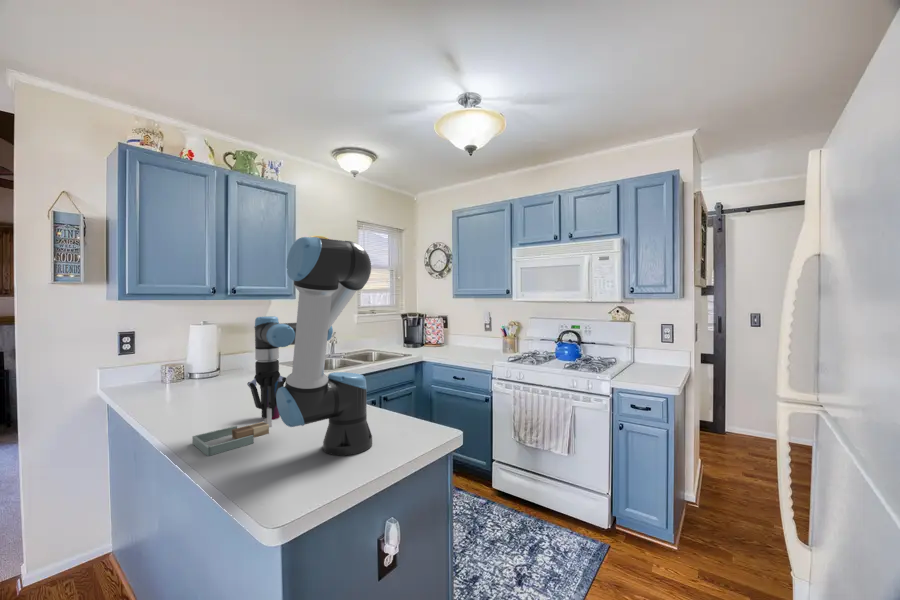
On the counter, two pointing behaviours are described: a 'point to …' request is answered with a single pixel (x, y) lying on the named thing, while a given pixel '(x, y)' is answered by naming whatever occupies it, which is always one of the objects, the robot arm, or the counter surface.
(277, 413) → the cup
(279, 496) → the counter surface
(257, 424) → the oak tile
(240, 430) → the walnut tile
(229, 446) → the box
